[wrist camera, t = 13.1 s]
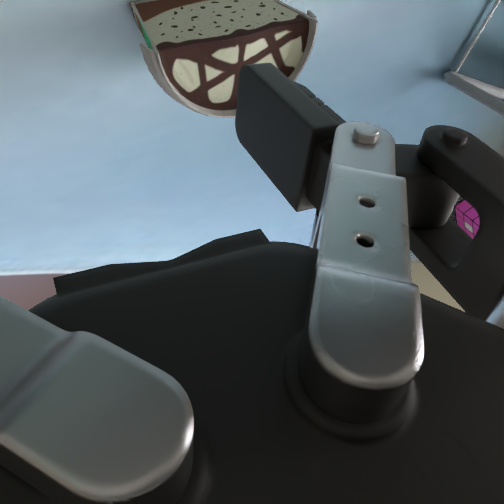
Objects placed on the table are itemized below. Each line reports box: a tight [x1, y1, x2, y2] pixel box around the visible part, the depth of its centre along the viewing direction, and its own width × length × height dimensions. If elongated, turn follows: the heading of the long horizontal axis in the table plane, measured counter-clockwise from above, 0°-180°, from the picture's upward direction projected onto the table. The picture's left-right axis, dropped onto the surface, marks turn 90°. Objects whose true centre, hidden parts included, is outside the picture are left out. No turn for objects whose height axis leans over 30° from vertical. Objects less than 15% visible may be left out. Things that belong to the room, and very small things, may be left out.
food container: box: [130, 0, 318, 118], centre depth 36 cm, size 12×6×10 cm, turn 92°
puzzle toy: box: [455, 200, 480, 239], centre depth 75 cm, size 6×6×6 cm
